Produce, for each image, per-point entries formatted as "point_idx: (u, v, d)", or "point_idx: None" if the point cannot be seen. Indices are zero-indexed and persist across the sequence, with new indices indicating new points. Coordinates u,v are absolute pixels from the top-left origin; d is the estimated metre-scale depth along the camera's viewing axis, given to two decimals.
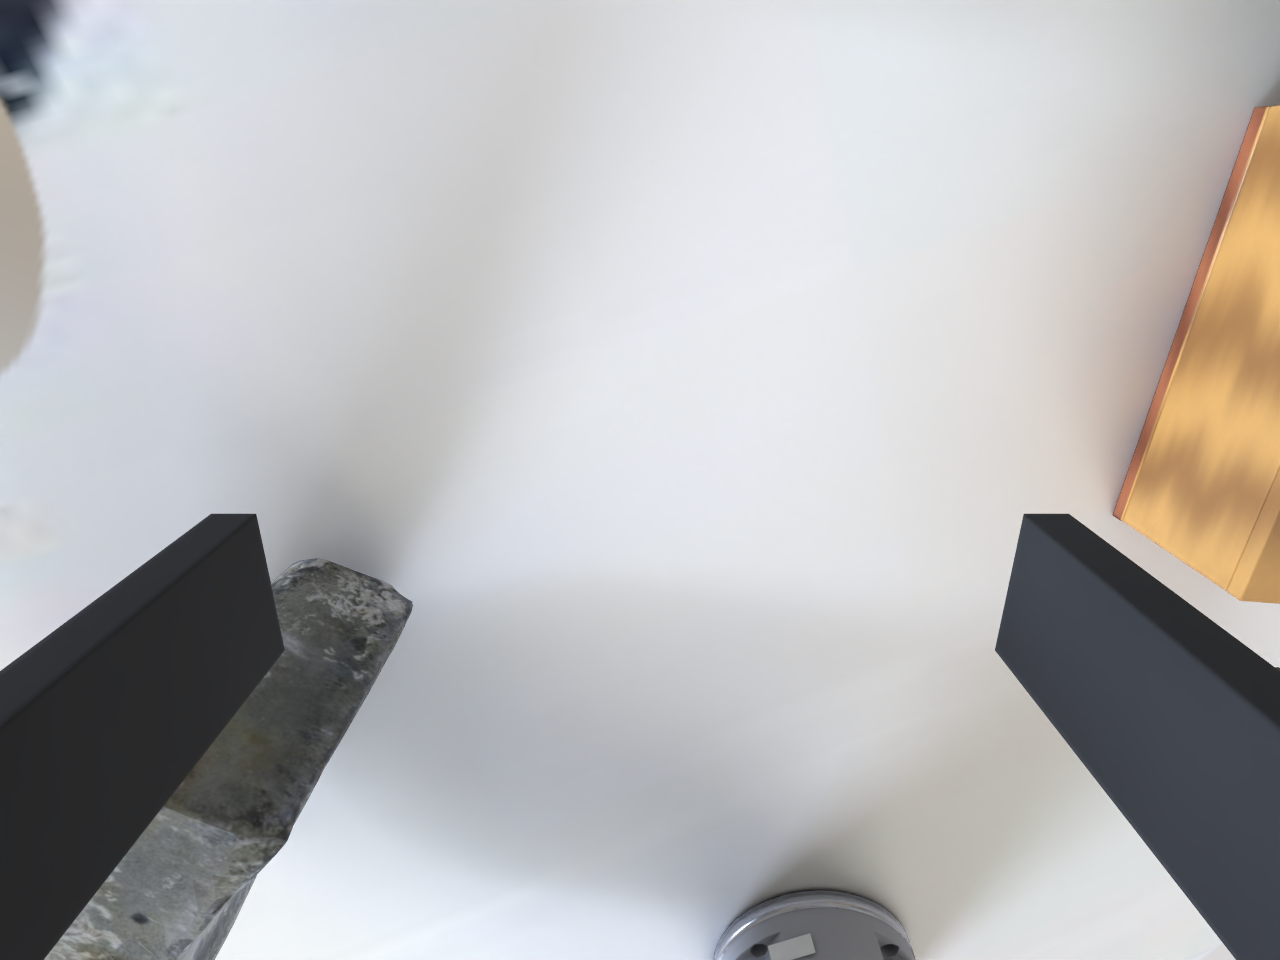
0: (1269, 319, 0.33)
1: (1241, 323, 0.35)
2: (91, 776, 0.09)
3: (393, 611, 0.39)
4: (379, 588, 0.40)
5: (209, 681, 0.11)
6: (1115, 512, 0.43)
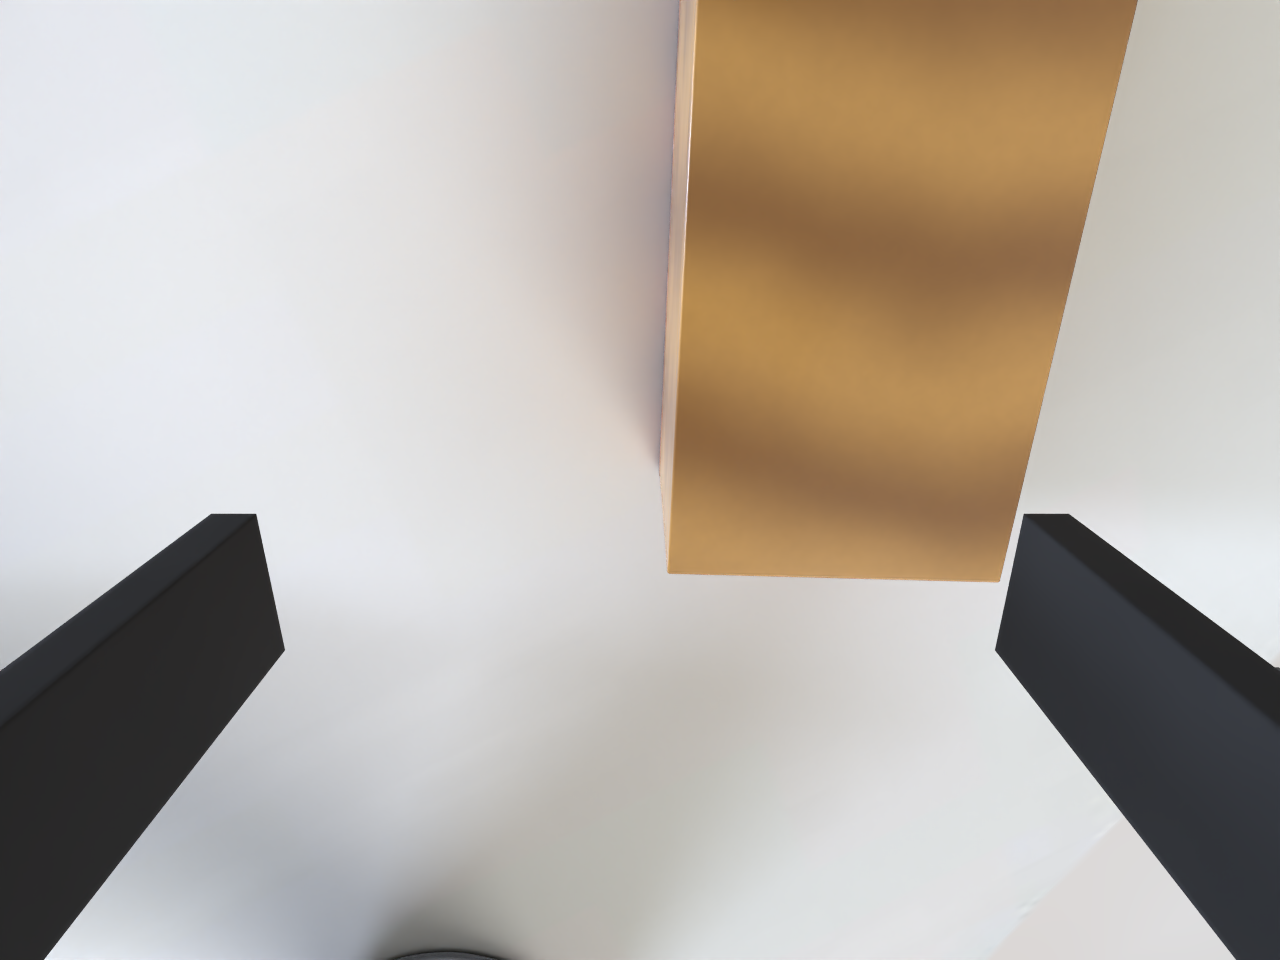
0: (679, 169, 0.23)
1: (676, 185, 0.25)
2: (91, 776, 0.09)
3: None
4: None
5: (209, 681, 0.11)
6: (659, 466, 0.33)
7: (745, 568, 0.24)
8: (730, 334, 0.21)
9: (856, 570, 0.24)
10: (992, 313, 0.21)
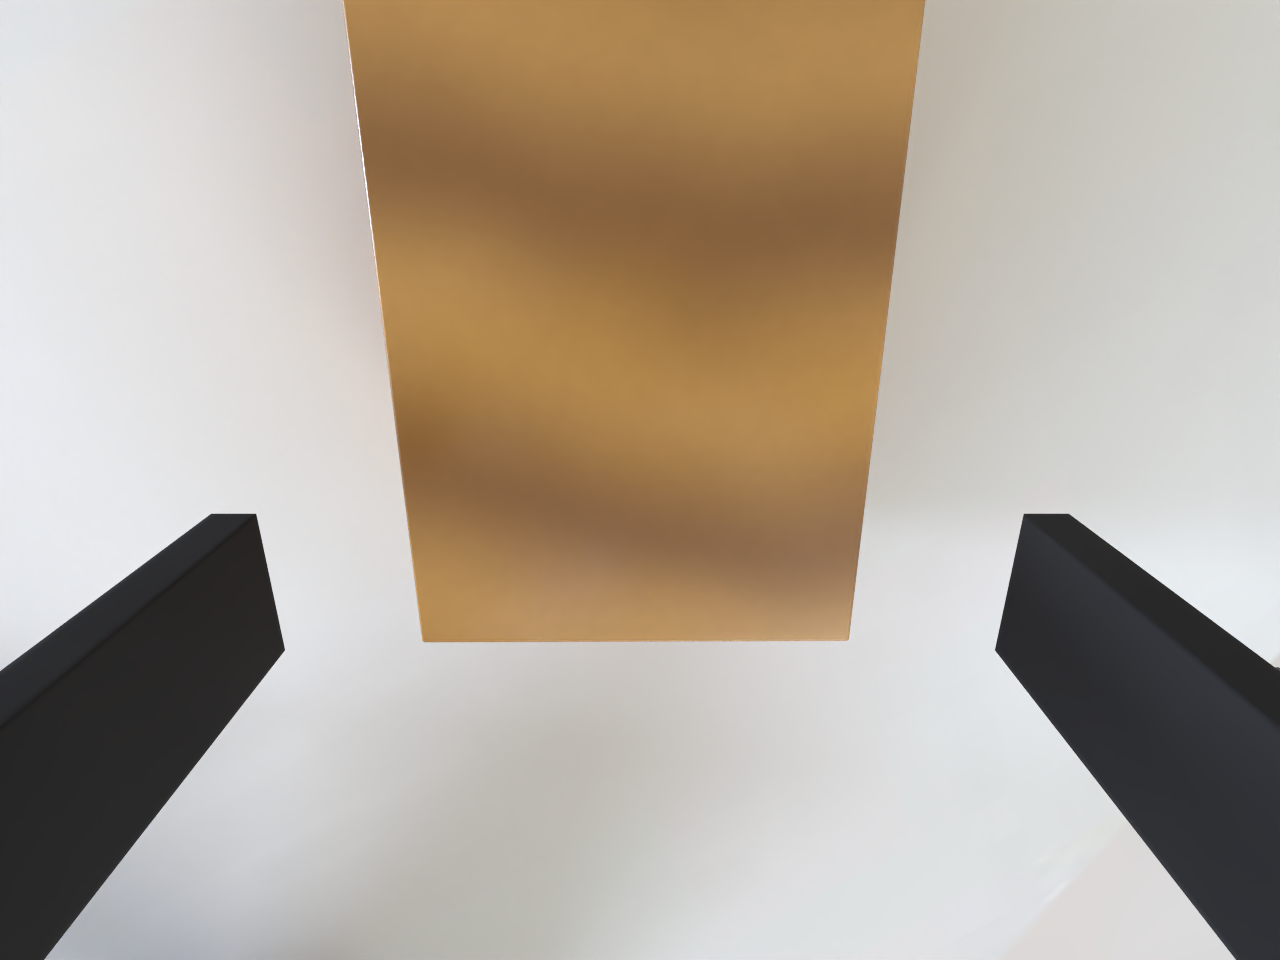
0: None
1: None
2: (91, 776, 0.09)
3: None
4: None
5: (209, 681, 0.11)
6: None
7: (520, 632, 0.19)
8: (450, 333, 0.16)
9: (661, 631, 0.19)
10: (794, 295, 0.16)
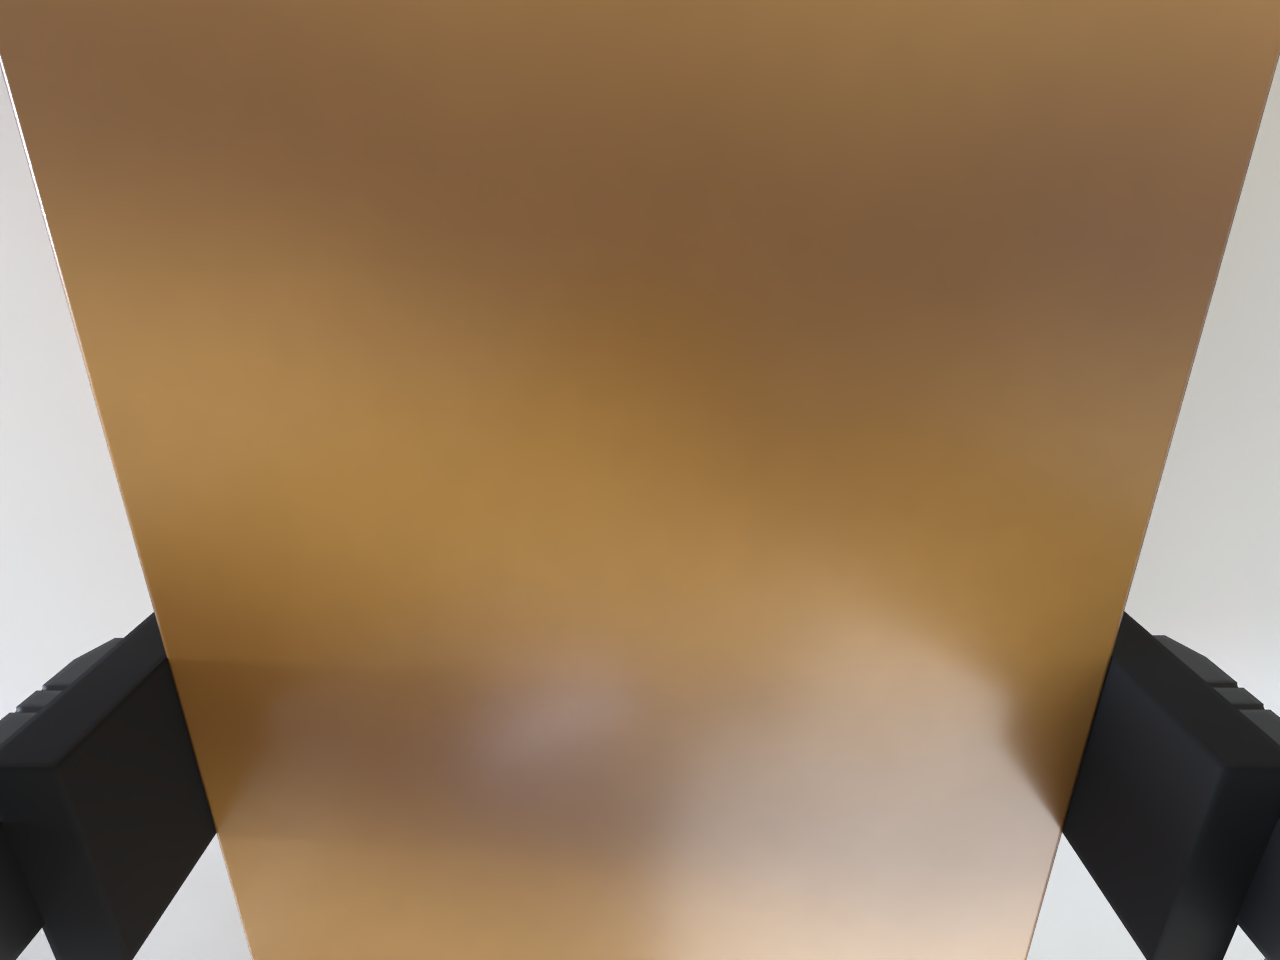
0: None
1: None
2: None
3: None
4: None
5: None
6: None
7: None
8: (251, 465, 0.08)
9: None
10: (983, 388, 0.07)
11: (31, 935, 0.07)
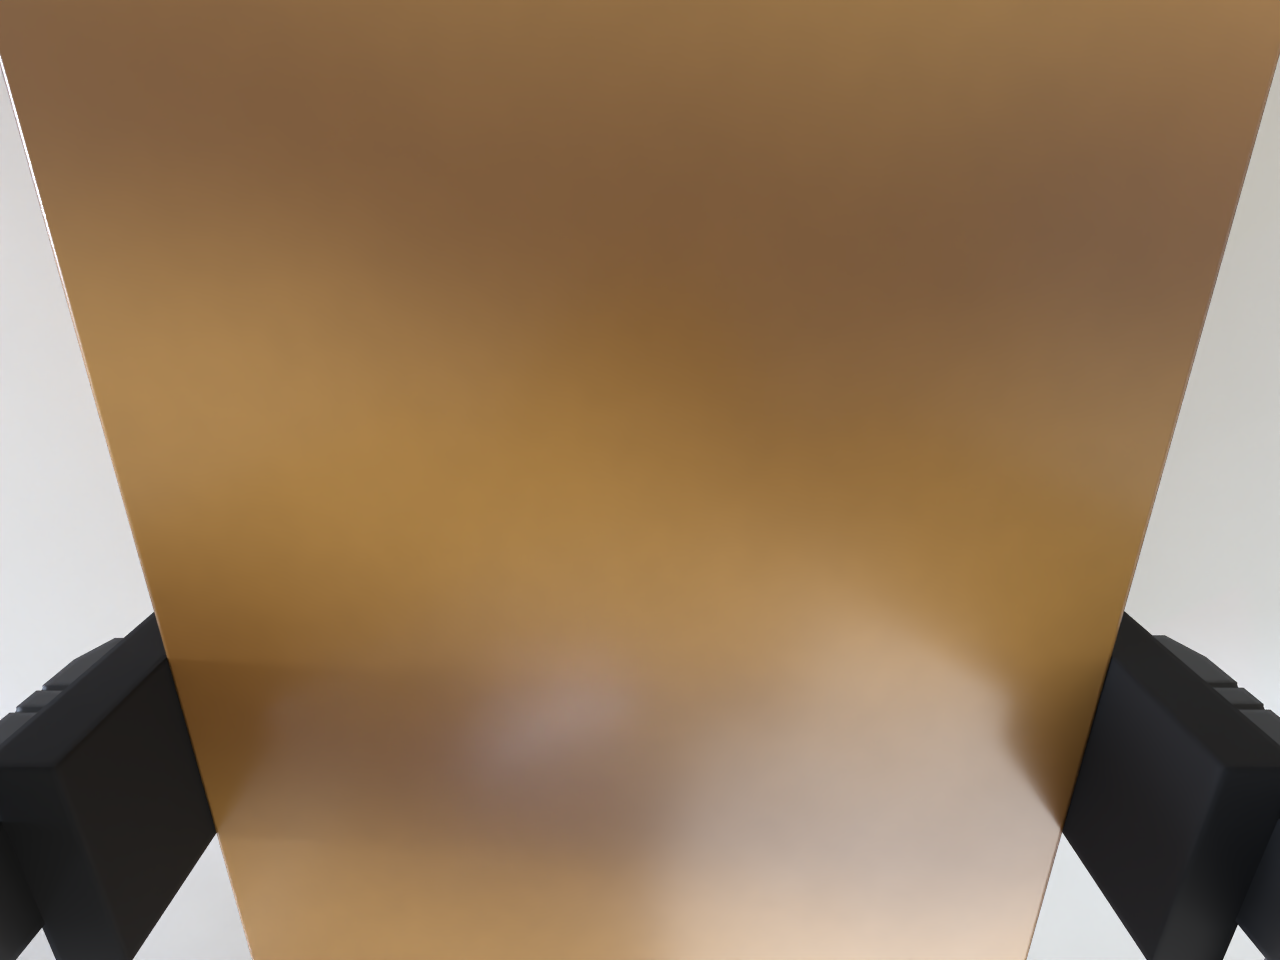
0: None
1: None
2: None
3: None
4: None
5: None
6: None
7: None
8: (251, 464, 0.08)
9: None
10: (983, 387, 0.07)
11: (31, 935, 0.07)
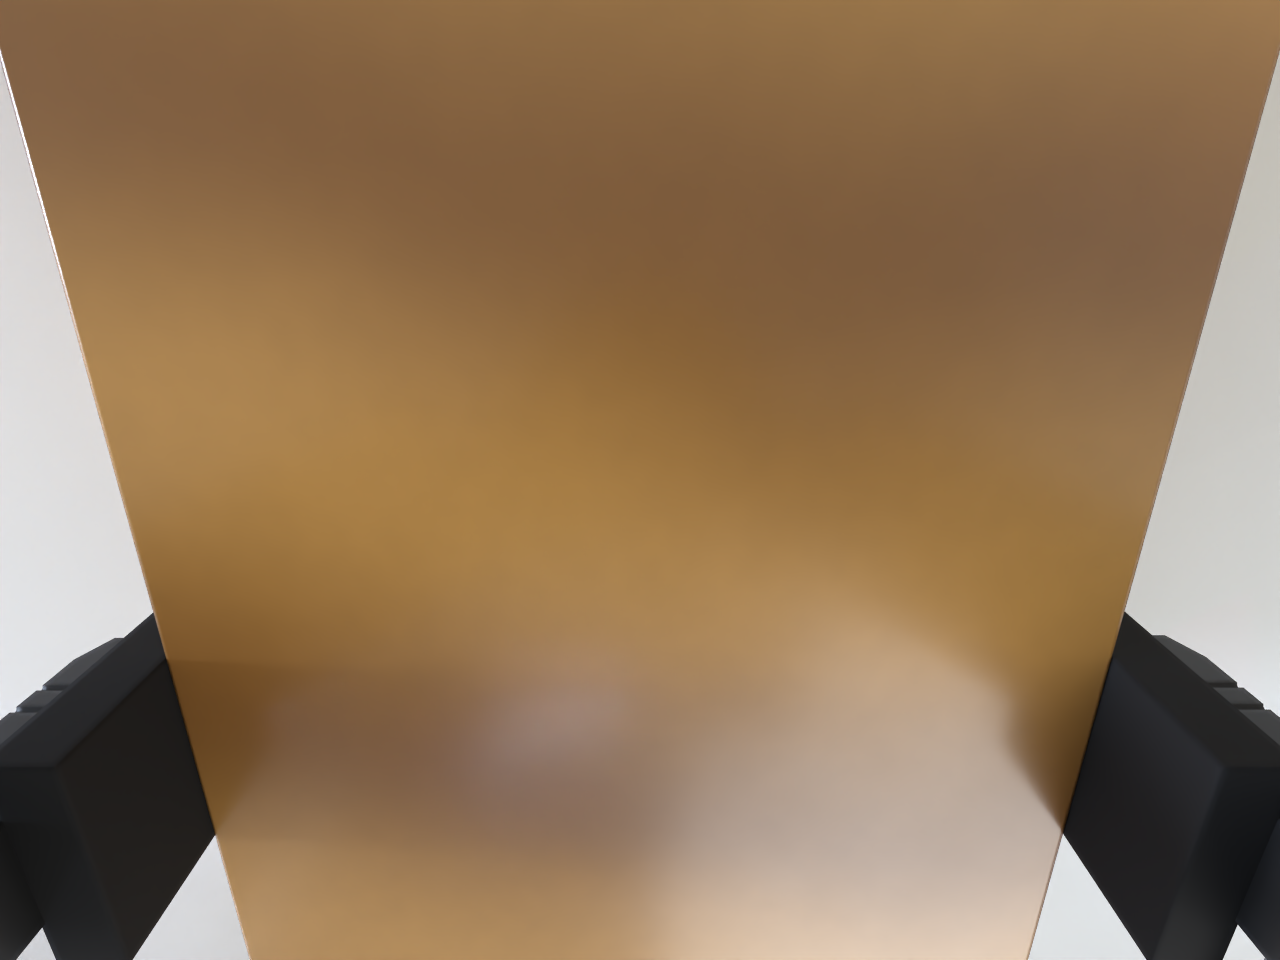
0: None
1: None
2: None
3: None
4: None
5: None
6: None
7: None
8: (251, 463, 0.08)
9: None
10: (983, 386, 0.07)
11: (31, 935, 0.07)
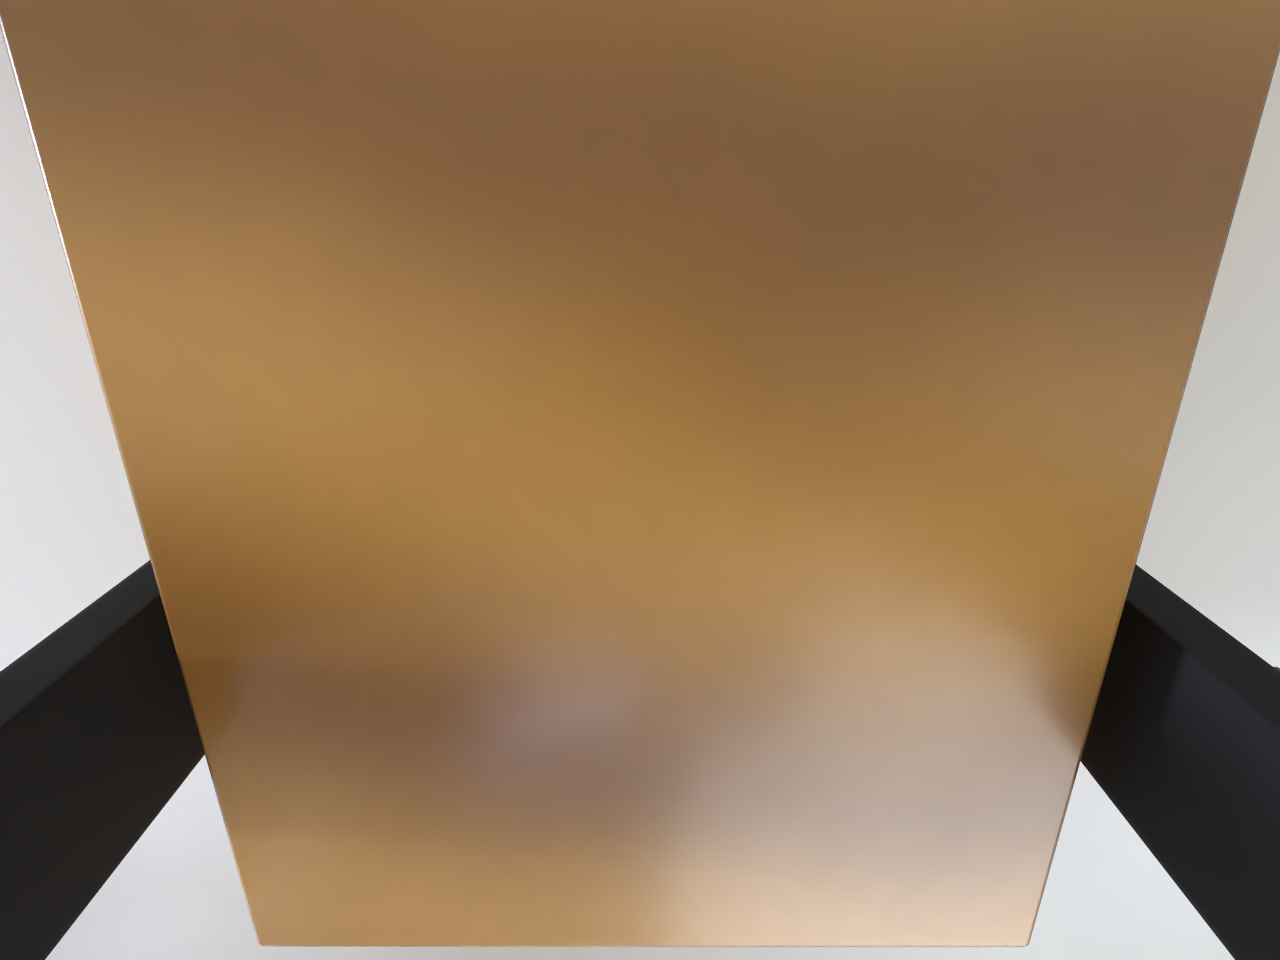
0: None
1: None
2: (92, 775, 0.09)
3: None
4: None
5: None
6: None
7: (433, 933, 0.10)
8: (250, 415, 0.07)
9: (690, 933, 0.10)
10: (992, 334, 0.07)
11: None
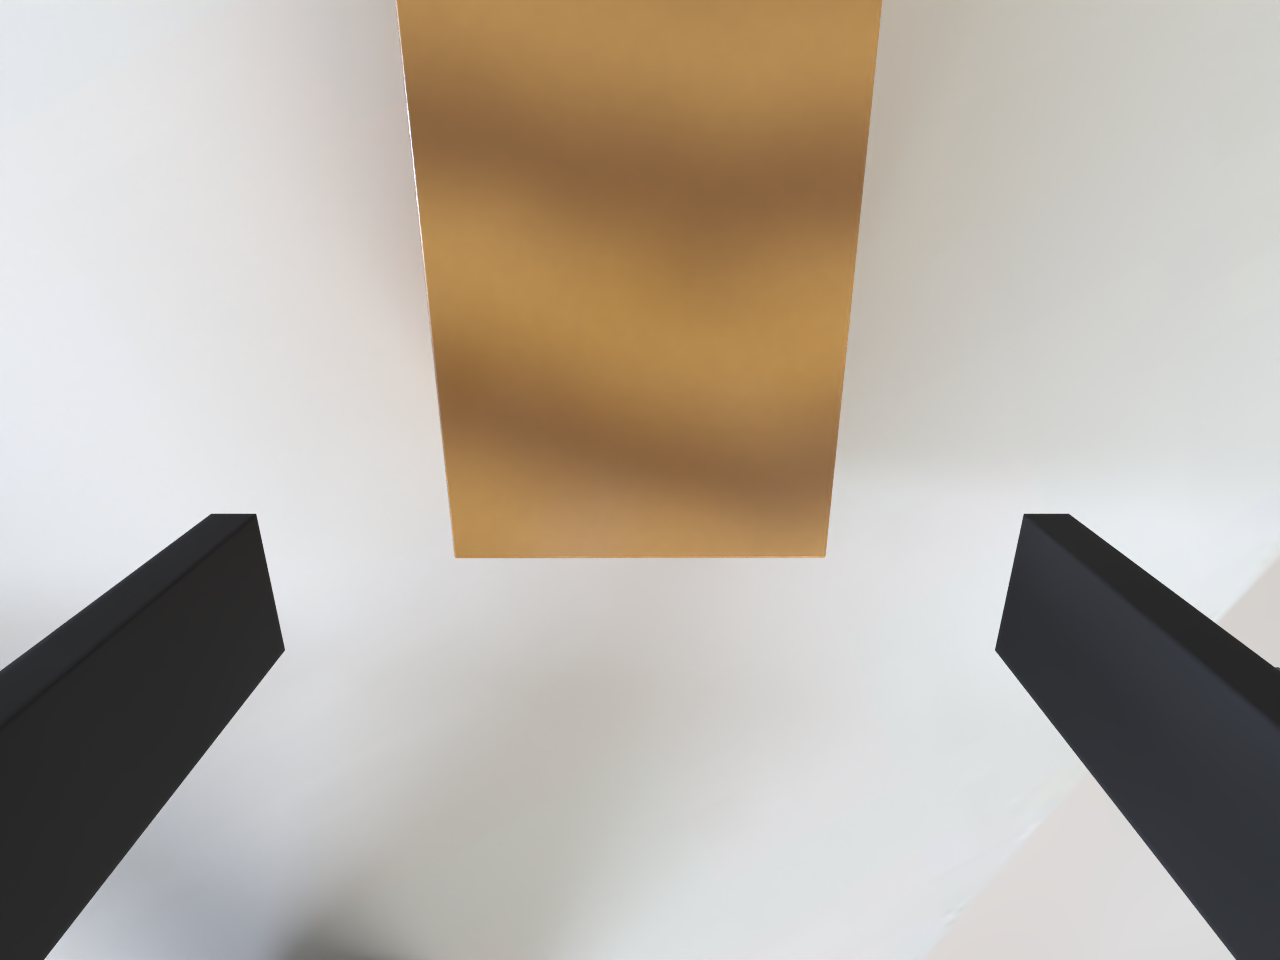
0: None
1: None
2: (91, 776, 0.09)
3: None
4: None
5: (209, 681, 0.11)
6: None
7: (539, 549, 0.21)
8: (482, 283, 0.19)
9: (662, 549, 0.21)
10: (775, 250, 0.18)
11: None
